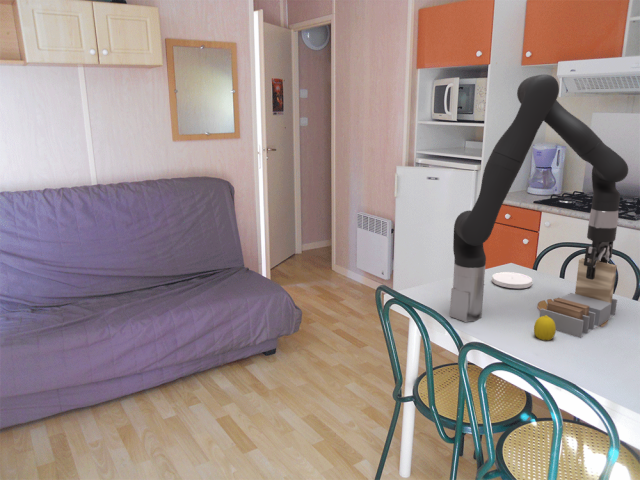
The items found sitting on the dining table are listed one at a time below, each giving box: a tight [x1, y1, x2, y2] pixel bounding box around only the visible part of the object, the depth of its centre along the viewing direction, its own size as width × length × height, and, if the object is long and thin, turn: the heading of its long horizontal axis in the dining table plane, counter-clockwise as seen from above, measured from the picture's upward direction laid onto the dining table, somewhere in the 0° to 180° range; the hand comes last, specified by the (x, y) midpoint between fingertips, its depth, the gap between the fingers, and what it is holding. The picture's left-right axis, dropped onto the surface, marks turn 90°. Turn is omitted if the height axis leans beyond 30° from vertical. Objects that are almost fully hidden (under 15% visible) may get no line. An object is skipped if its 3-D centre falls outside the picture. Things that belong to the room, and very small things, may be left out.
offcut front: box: [546, 300, 583, 320], centre depth 148 cm, size 2×9×7 cm, turn 41°
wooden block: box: [574, 257, 618, 303], centre depth 158 cm, size 2×10×16 cm, turn 40°
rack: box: [539, 292, 618, 339], centre depth 154 cm, size 24×12×6 cm, turn 131°
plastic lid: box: [491, 271, 533, 289], centre depth 190 cm, size 14×14×2 cm
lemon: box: [533, 315, 557, 341], centre depth 143 cm, size 6×6×8 cm
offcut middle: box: [553, 297, 589, 316], centre depth 150 cm, size 2×9×7 cm, turn 41°
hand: (596, 275), depth 158 cm, fingers open, 8 cm apart
